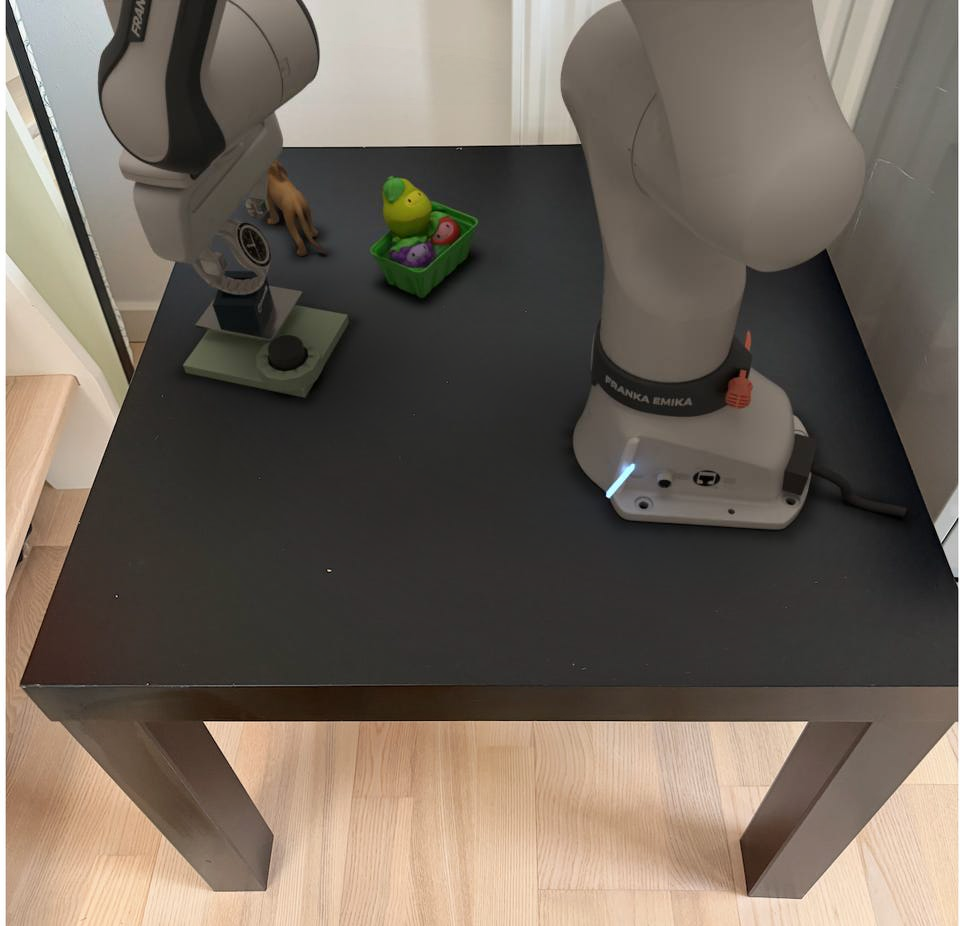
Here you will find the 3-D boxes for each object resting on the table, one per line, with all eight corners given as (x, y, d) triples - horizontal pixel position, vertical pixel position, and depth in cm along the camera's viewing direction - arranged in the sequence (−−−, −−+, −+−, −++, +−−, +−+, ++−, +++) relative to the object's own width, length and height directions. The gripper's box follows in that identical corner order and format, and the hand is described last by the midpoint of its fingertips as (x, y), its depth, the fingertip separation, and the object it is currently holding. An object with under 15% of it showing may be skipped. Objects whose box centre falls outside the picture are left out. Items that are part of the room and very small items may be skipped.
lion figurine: (241, 214, 115) (223, 150, 108) (276, 196, 117) (261, 132, 110) (309, 266, 108) (295, 201, 101) (345, 246, 110) (333, 181, 103)
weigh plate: (303, 294, 100) (302, 291, 99) (272, 342, 95) (271, 339, 95) (230, 280, 102) (229, 278, 101) (195, 327, 97) (194, 324, 97)
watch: (278, 328, 96) (254, 243, 87) (203, 327, 96) (173, 241, 88) (288, 294, 99) (267, 208, 91) (217, 292, 100) (189, 207, 91)
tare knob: (311, 350, 95) (308, 338, 93) (297, 374, 92) (294, 362, 91) (280, 344, 95) (276, 332, 94) (265, 367, 93) (261, 355, 92)
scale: (355, 323, 101) (351, 303, 99) (309, 404, 93) (303, 384, 91) (236, 301, 104) (230, 280, 102) (182, 378, 96) (174, 357, 94)
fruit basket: (424, 309, 102) (415, 225, 93) (364, 282, 105) (350, 198, 97) (482, 255, 108) (479, 172, 99) (423, 231, 111) (415, 148, 102)
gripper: (222, 55, 88) (257, 178, 99) (106, 174, 76) (160, 300, 87) (280, 62, 87) (309, 186, 97) (171, 184, 75) (218, 311, 86)
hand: (238, 241), depth 92 cm, fingers open, 8 cm apart
